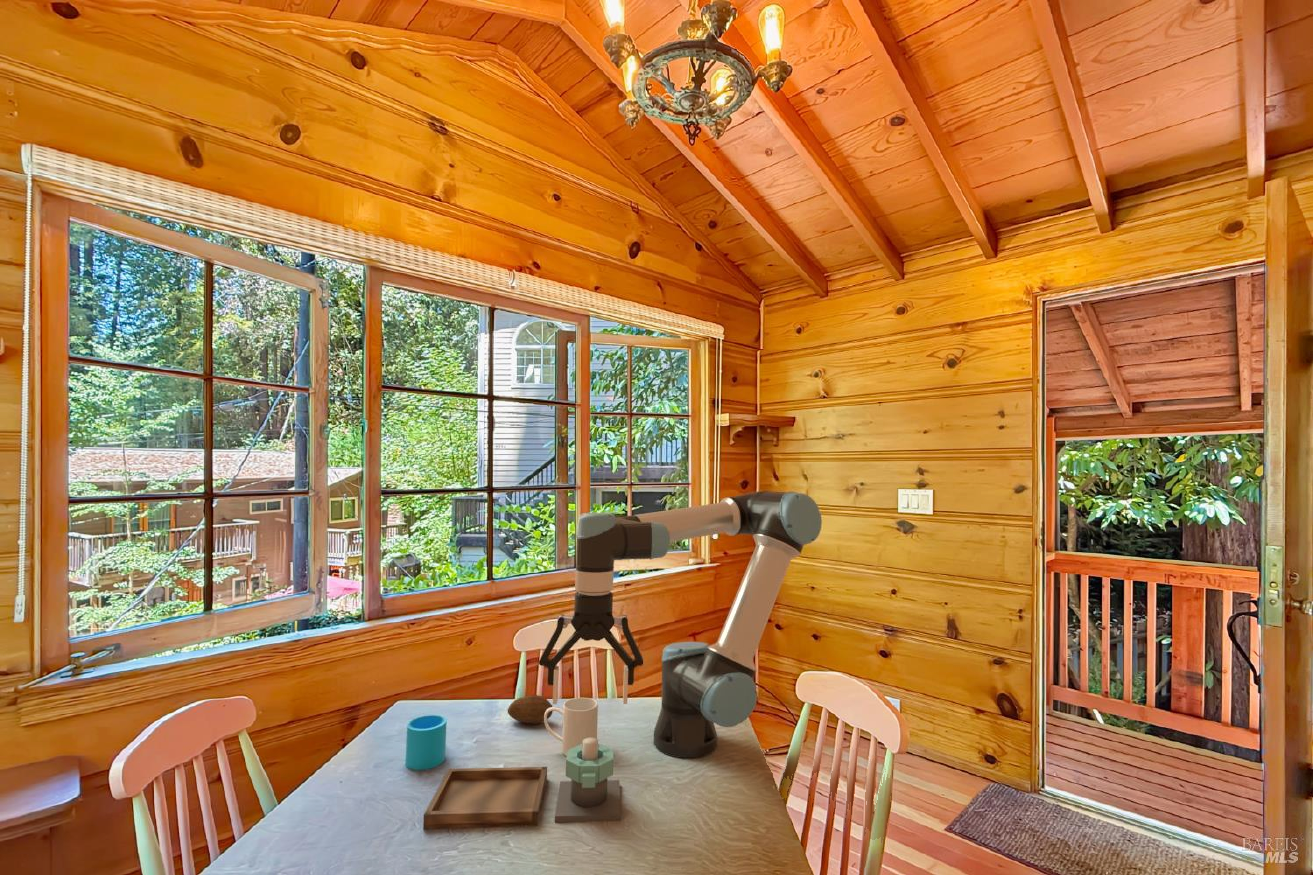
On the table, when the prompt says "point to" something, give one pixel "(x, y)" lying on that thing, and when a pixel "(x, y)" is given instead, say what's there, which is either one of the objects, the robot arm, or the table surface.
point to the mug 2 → (576, 722)
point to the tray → (487, 798)
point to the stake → (588, 795)
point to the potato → (530, 709)
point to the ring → (589, 766)
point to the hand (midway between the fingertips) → (590, 701)
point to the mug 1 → (426, 742)
